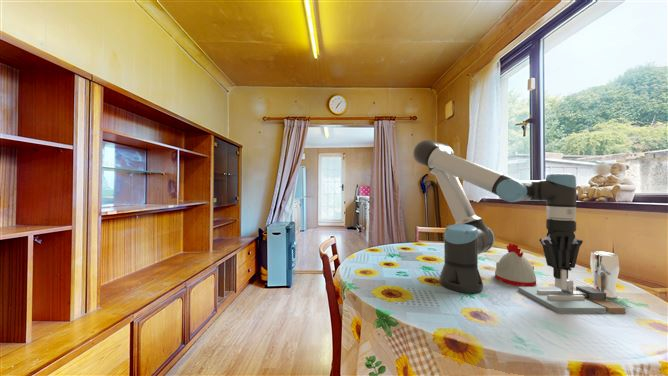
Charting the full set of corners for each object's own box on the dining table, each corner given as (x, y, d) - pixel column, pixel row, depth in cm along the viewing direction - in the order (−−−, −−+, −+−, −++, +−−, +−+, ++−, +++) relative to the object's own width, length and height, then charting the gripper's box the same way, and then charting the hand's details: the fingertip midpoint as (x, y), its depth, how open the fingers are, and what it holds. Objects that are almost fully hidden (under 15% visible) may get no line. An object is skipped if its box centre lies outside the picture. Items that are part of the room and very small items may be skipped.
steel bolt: (566, 297, 81) (566, 282, 81) (558, 293, 84) (558, 278, 84) (596, 297, 81) (596, 282, 81) (587, 293, 84) (587, 278, 84)
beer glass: (625, 300, 84) (625, 256, 84) (601, 298, 85) (601, 255, 85) (607, 291, 91) (607, 251, 91) (585, 290, 92) (585, 250, 92)
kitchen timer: (518, 274, 109) (518, 240, 109) (545, 286, 95) (545, 248, 95) (487, 274, 109) (487, 241, 109) (511, 286, 95) (511, 248, 95)
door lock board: (557, 312, 75) (557, 299, 75) (518, 290, 91) (518, 280, 91) (625, 313, 75) (625, 300, 75) (574, 291, 91) (574, 280, 91)
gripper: (551, 220, 79) (551, 292, 79) (591, 220, 79) (591, 292, 79) (532, 217, 87) (532, 283, 87) (569, 217, 87) (569, 283, 87)
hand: (560, 287), depth 83 cm, fingers closed
